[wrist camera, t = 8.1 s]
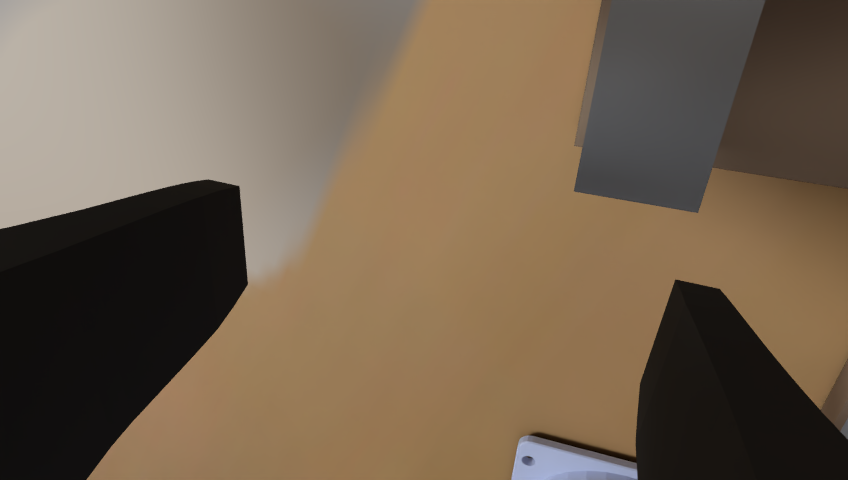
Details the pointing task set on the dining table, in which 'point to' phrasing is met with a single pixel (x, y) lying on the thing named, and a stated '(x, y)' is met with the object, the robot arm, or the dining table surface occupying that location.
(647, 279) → the dining table surface
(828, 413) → the empty strip
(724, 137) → the brown and grey piece
